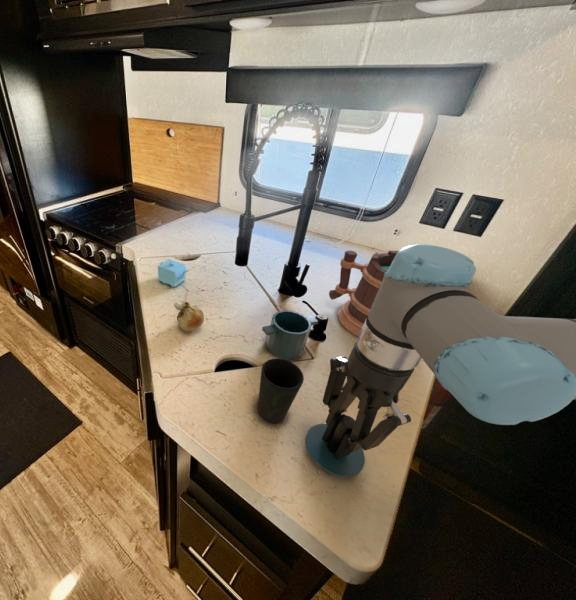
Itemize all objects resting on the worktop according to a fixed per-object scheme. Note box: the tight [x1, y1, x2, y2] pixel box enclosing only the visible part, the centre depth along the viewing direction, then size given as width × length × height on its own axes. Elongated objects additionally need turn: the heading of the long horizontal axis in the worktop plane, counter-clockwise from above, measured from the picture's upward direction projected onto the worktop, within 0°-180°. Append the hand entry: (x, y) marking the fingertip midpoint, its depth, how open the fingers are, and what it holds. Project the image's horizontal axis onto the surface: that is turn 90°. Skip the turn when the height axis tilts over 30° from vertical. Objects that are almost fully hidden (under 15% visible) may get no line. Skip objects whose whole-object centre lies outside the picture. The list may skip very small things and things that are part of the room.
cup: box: [257, 357, 305, 424], centre depth 62 cm, size 8×8×12 cm
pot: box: [261, 309, 319, 361], centre depth 79 cm, size 9×15×8 cm, turn 108°
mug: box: [328, 250, 399, 337], centre depth 85 cm, size 18×23×20 cm
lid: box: [304, 414, 366, 478], centre depth 55 cm, size 10×10×9 cm
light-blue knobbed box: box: [157, 259, 190, 288], centre depth 105 cm, size 12×6×8 cm, turn 54°
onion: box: [173, 301, 205, 332], centre depth 85 cm, size 8×8×8 cm
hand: (335, 446), depth 57 cm, fingers closed on lid, 3 cm apart
